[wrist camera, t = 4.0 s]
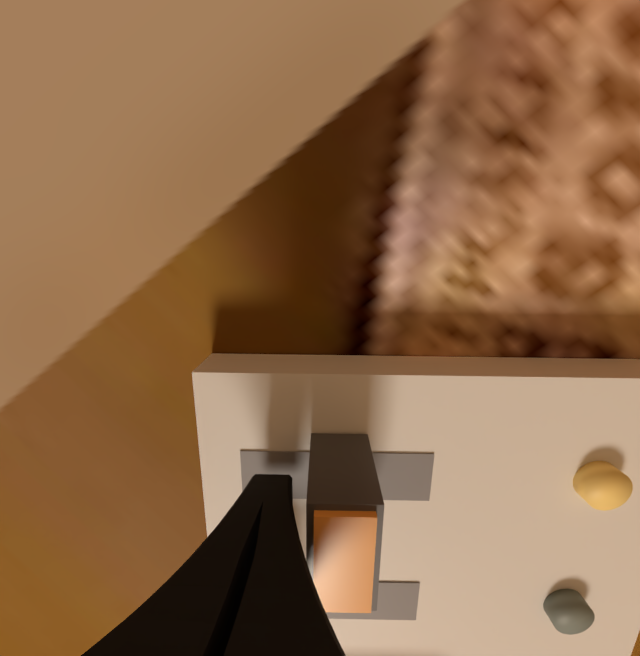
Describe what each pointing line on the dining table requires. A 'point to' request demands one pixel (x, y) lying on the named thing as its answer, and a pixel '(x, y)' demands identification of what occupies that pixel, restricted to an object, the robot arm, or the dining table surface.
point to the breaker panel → (456, 490)
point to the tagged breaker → (344, 522)
